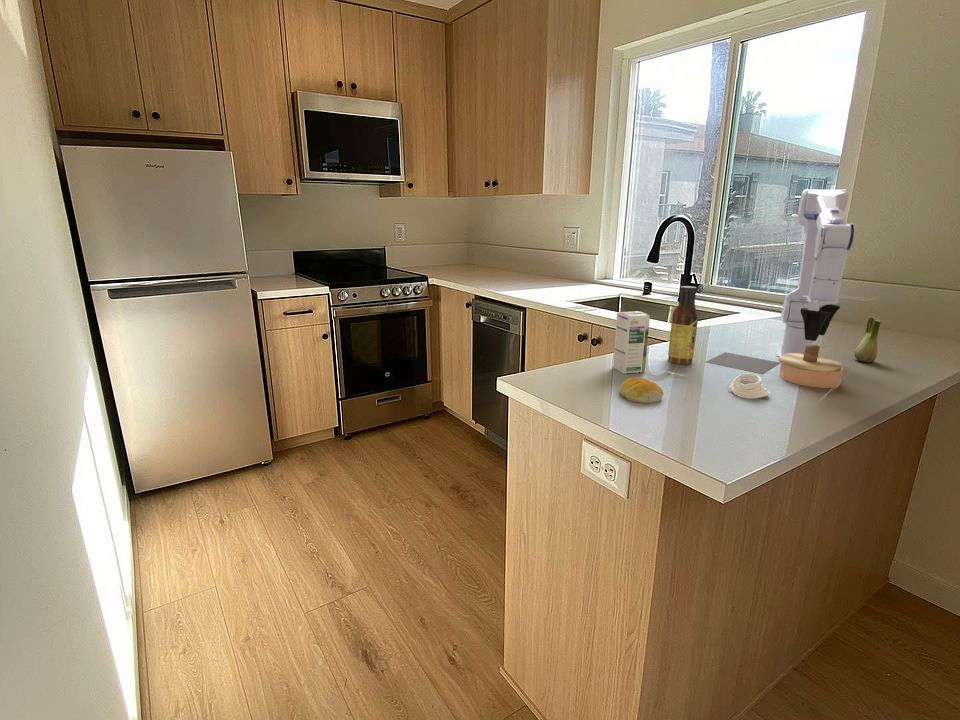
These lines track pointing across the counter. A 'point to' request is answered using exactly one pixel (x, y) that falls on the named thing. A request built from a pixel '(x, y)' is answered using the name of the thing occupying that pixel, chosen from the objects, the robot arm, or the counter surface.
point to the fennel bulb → (868, 342)
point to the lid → (810, 360)
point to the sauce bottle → (683, 328)
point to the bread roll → (641, 390)
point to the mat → (743, 362)
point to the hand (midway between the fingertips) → (814, 337)
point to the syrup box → (631, 341)
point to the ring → (811, 377)
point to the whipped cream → (748, 386)
